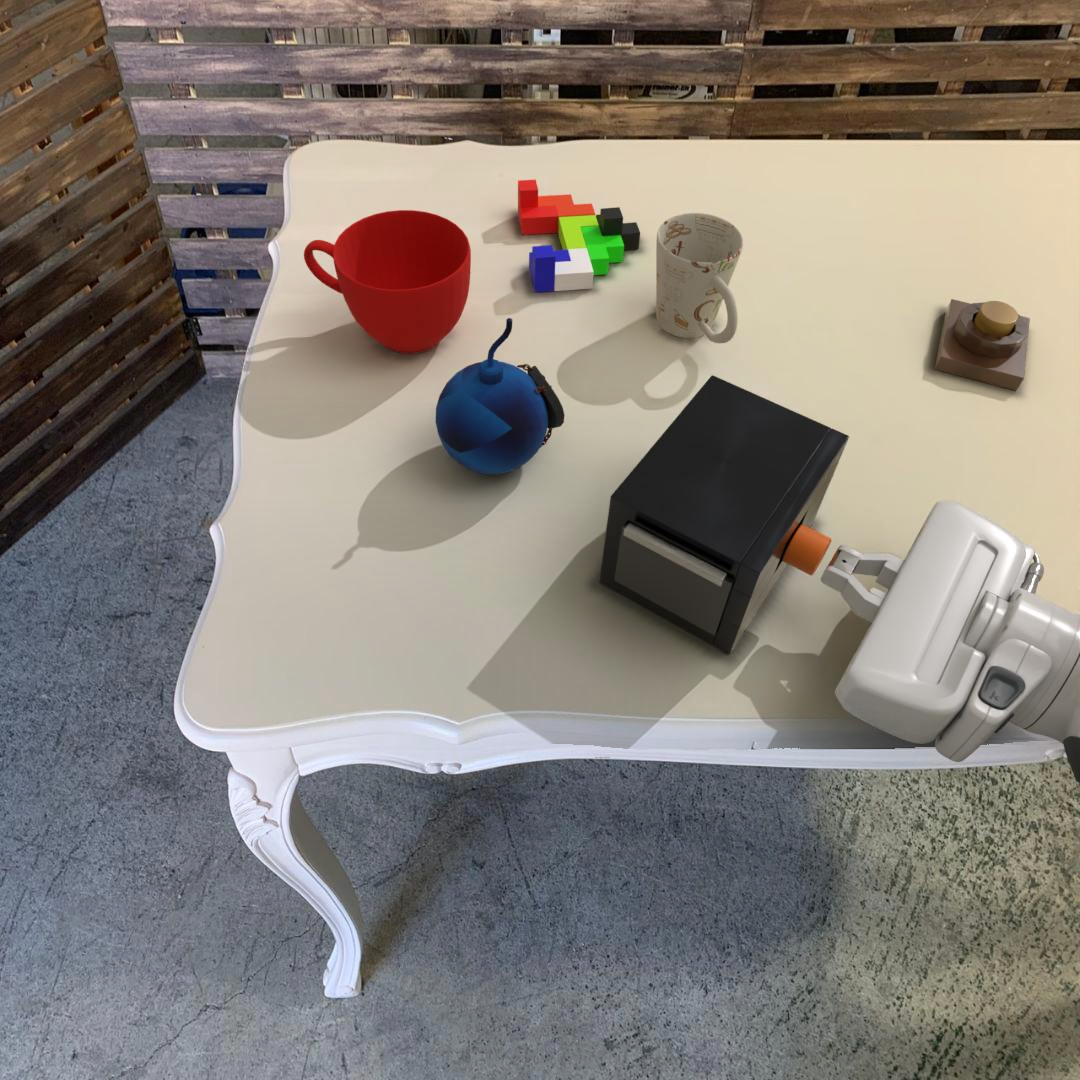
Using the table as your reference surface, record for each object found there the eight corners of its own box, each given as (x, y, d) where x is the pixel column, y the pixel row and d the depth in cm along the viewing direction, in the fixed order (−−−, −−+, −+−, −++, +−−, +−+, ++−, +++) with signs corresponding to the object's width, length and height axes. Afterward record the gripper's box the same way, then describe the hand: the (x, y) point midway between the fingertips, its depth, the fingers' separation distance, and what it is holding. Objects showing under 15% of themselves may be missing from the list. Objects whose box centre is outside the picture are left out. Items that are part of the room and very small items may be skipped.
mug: (696, 287, 98) (713, 204, 90) (762, 357, 91) (786, 274, 84) (630, 307, 96) (641, 224, 88) (693, 380, 89) (711, 298, 81)
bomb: (575, 471, 81) (586, 342, 69) (465, 511, 78) (456, 382, 66) (528, 403, 87) (530, 271, 75) (423, 437, 84) (408, 306, 72)
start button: (1011, 320, 91) (1019, 305, 90) (1009, 341, 89) (1017, 327, 88) (975, 311, 92) (982, 297, 91) (972, 332, 90) (979, 318, 88)
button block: (1022, 330, 95) (1038, 303, 92) (1016, 390, 89) (1032, 364, 86) (945, 311, 97) (958, 284, 94) (934, 369, 91) (947, 342, 88)
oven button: (824, 556, 71) (836, 531, 68) (808, 583, 69) (819, 558, 66) (795, 541, 71) (805, 516, 69) (778, 568, 70) (788, 543, 67)
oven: (812, 524, 78) (849, 435, 70) (722, 666, 69) (752, 585, 61) (691, 465, 82) (712, 374, 73) (591, 592, 73) (601, 506, 65)
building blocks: (650, 284, 98) (655, 250, 95) (534, 292, 97) (534, 258, 94) (623, 207, 107) (627, 174, 104) (516, 214, 106) (517, 180, 103)
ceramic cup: (342, 277, 98) (327, 193, 90) (490, 306, 95) (488, 222, 88) (291, 352, 90) (269, 268, 82) (450, 386, 88) (443, 302, 80)
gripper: (1070, 531, 67) (892, 452, 71) (987, 742, 56) (784, 633, 61) (1031, 580, 72) (867, 503, 76) (948, 782, 61) (763, 679, 66)
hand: (829, 562), depth 68 cm, fingers closed
